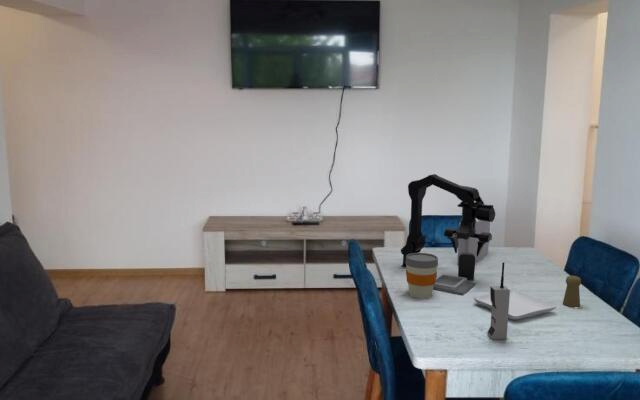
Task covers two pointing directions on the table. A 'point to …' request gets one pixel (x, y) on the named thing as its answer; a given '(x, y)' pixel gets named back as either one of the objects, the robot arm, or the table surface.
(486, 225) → the game console
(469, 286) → the charging dock
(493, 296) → the vintage mobile phone
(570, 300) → the cork
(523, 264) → the table surface
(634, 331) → the table surface
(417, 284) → the reusable coffee cup
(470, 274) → the battery charger
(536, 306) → the salad plate
